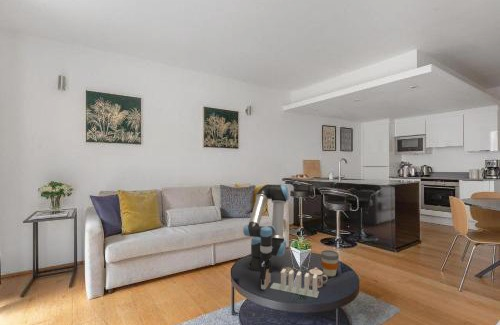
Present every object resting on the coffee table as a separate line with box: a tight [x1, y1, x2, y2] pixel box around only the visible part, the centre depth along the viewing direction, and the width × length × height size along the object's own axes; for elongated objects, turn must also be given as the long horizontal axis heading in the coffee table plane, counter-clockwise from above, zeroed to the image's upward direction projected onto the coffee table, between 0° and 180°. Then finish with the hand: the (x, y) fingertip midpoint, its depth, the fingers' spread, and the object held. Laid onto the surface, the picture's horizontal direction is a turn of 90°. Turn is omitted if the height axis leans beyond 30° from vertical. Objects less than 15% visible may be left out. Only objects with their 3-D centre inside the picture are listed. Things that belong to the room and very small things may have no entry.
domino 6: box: [312, 274, 318, 296], centre depth 163 cm, size 2×6×11 cm, turn 157°
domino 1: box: [265, 269, 270, 289], centre depth 172 cm, size 2×6×11 cm, turn 157°
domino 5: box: [303, 272, 310, 296], centre depth 165 cm, size 2×6×11 cm, turn 157°
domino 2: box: [280, 268, 287, 291], centre depth 170 cm, size 2×6×11 cm, turn 157°
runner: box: [269, 282, 320, 299], centre depth 168 cm, size 30×8×1 cm, turn 67°
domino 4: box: [295, 271, 302, 293], centre depth 167 cm, size 2×6×11 cm, turn 157°
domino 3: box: [287, 269, 295, 291], centre depth 168 cm, size 2×6×11 cm, turn 157°
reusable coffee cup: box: [320, 249, 340, 277], centre depth 193 cm, size 13×13×15 cm
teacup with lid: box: [308, 267, 328, 289], centre depth 175 cm, size 12×9×12 cm
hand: (265, 285), depth 172 cm, fingers open, 9 cm apart
